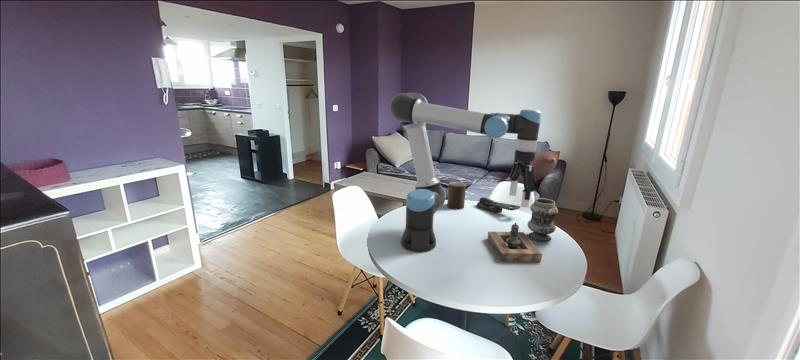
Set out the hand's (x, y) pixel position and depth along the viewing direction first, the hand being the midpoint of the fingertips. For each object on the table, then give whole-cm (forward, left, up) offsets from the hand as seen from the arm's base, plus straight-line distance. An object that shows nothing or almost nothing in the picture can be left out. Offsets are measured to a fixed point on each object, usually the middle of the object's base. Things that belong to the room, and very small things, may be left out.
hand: (518, 201), depth 135 cm
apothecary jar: (+17, +12, -22) cm, 30 cm away
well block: (0, 0, -22) cm, 22 cm away
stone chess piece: (0, 0, -22) cm, 22 cm away
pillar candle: (-15, +51, -22) cm, 57 cm away
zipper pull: (+7, +44, -22) cm, 49 cm away
